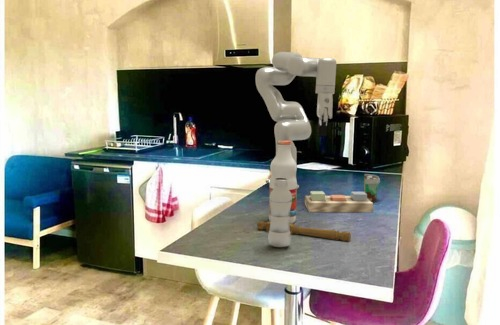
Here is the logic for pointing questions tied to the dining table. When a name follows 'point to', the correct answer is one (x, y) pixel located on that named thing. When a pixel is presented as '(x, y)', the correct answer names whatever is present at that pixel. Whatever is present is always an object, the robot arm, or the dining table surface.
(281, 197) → the plastic bottle
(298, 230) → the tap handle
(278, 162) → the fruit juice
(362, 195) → the slate button
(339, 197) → the terracotta button
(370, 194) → the food container
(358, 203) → the button panel
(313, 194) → the sage button
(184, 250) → the dining table surface
